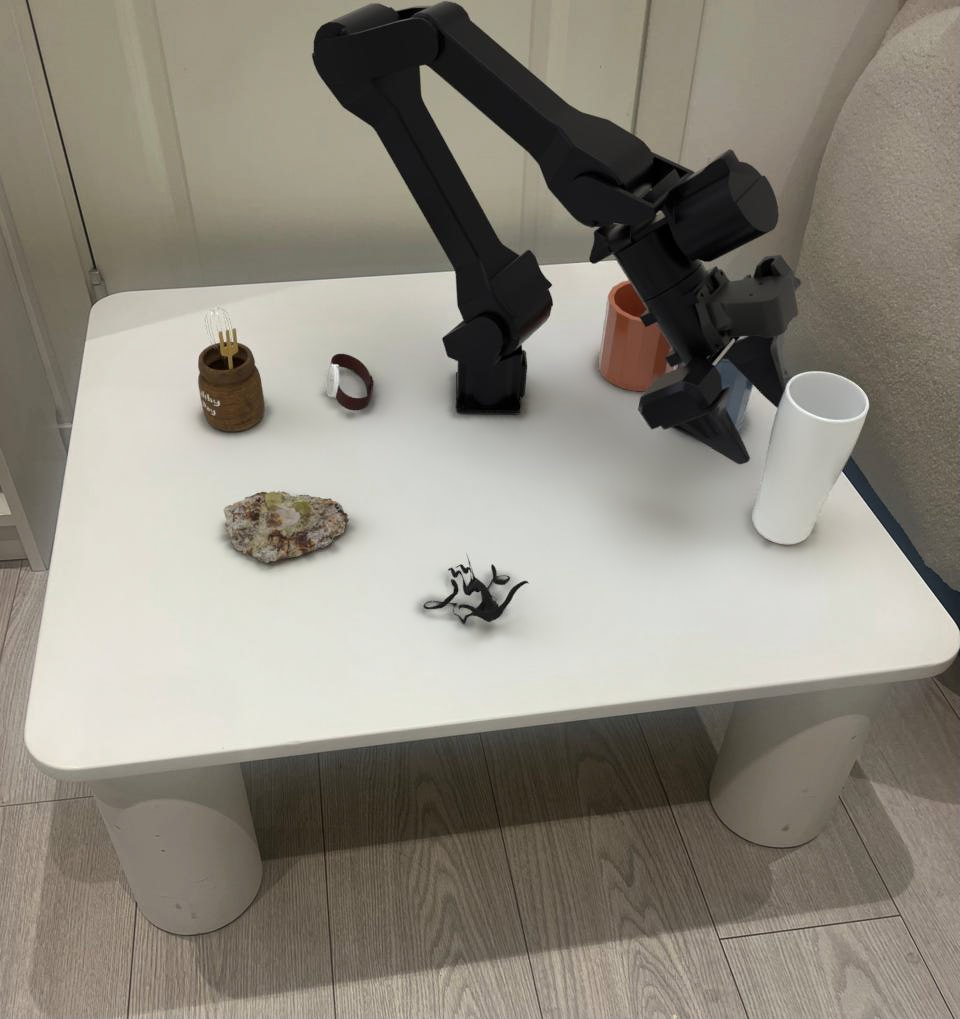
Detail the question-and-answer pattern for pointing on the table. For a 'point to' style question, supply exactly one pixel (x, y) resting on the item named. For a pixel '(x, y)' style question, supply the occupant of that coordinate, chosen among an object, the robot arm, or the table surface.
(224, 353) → the utensil holder
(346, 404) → the watch
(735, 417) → the blue tumbler
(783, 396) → the drinking glass
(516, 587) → the creature
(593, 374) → the table surface
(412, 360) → the table surface
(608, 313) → the terracotta cup
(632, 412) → the table surface
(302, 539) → the mineral rock
